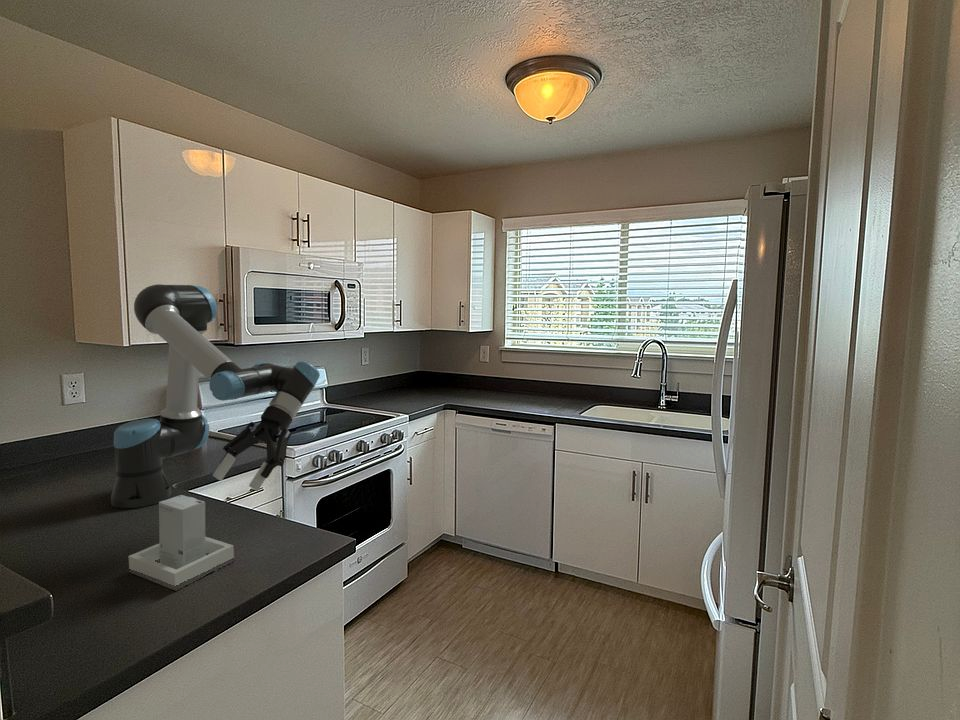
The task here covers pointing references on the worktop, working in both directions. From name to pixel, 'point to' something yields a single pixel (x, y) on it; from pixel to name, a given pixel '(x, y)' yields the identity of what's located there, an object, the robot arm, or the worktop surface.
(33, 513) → the worktop surface
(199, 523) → the skincare box
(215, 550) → the tray
